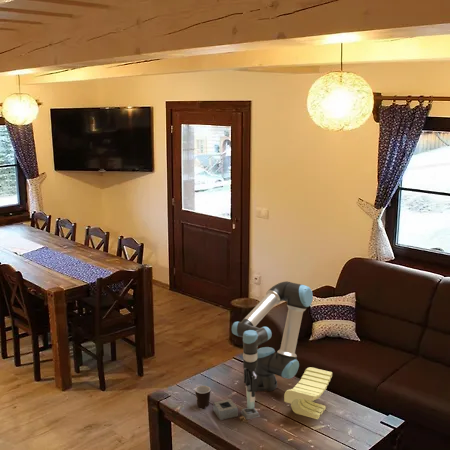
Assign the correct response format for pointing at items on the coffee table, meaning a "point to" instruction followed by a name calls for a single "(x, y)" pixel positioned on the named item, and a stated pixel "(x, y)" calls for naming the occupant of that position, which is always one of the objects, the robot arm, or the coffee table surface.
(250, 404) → the plug
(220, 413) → the port block
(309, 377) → the slatted curved stool
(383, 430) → the coffee table surface
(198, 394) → the coffee mug
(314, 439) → the coffee table surface
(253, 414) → the grey square open tray
